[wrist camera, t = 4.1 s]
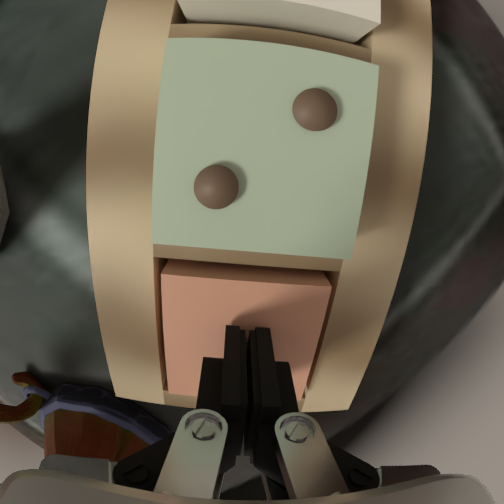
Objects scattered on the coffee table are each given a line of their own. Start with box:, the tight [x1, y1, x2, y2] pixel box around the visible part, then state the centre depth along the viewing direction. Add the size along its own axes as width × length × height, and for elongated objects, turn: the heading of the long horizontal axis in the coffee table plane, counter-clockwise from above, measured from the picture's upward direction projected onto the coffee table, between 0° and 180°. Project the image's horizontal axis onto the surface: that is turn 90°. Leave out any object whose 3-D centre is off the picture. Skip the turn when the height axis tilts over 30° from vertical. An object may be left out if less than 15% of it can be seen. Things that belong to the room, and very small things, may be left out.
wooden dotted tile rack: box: [86, 0, 432, 412], centre depth 11 cm, size 24×12×3 cm, turn 174°
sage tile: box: [152, 38, 379, 260], centre depth 9 cm, size 6×6×3 cm
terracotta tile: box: [161, 258, 332, 401], centre depth 13 cm, size 6×6×3 cm
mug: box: [0, 371, 170, 485], centre depth 11 cm, size 18×12×15 cm, turn 47°
